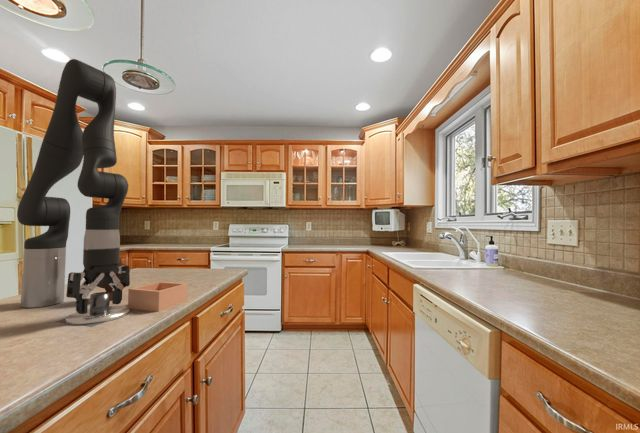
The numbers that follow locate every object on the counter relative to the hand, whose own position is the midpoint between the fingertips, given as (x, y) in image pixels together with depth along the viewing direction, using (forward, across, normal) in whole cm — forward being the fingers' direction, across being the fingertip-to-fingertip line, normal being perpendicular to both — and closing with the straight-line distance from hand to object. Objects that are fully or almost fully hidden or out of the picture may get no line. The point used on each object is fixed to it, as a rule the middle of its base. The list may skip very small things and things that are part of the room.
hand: (100, 308), depth 71 cm
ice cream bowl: (+3, -13, -14) cm, 19 cm away
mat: (+3, 0, 0) cm, 3 cm away
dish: (+3, -13, +6) cm, 14 cm away
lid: (+2, 0, 0) cm, 2 cm away
